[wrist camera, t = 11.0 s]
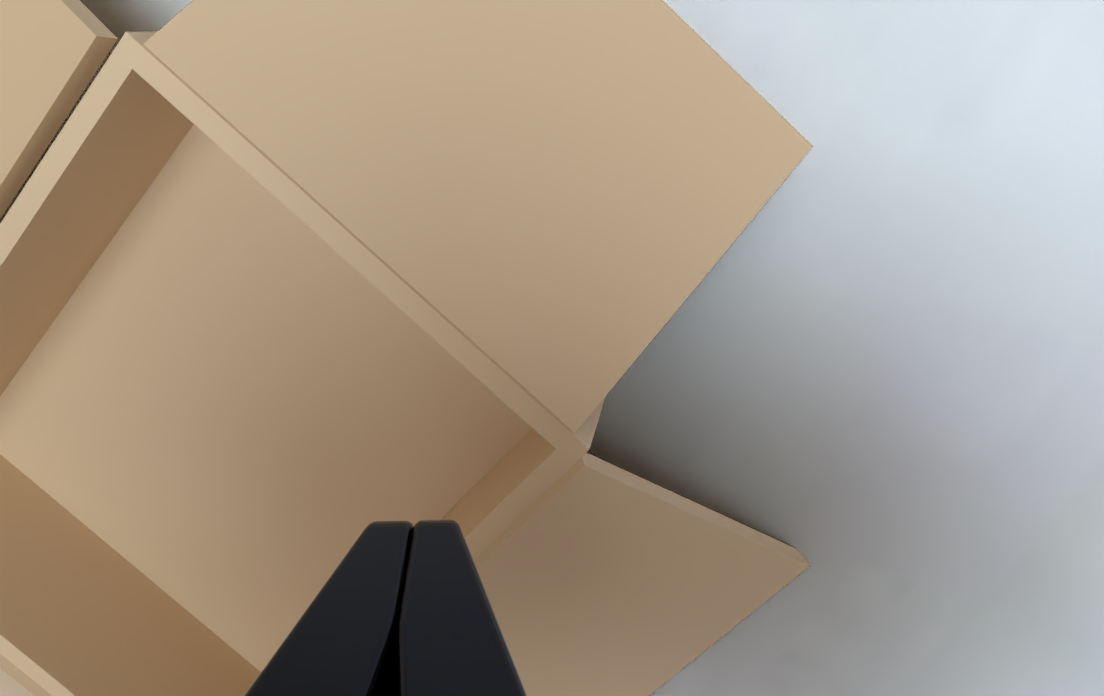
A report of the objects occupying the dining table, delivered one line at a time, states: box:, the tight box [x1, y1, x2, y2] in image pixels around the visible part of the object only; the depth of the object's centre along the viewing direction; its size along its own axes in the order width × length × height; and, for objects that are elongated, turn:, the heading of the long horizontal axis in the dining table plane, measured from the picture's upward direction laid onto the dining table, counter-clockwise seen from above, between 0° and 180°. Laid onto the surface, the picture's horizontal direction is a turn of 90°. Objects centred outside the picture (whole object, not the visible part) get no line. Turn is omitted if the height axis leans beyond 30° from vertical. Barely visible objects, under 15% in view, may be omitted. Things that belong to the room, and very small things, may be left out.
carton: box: [0, 0, 813, 696], centre depth 20 cm, size 16×24×4 cm
